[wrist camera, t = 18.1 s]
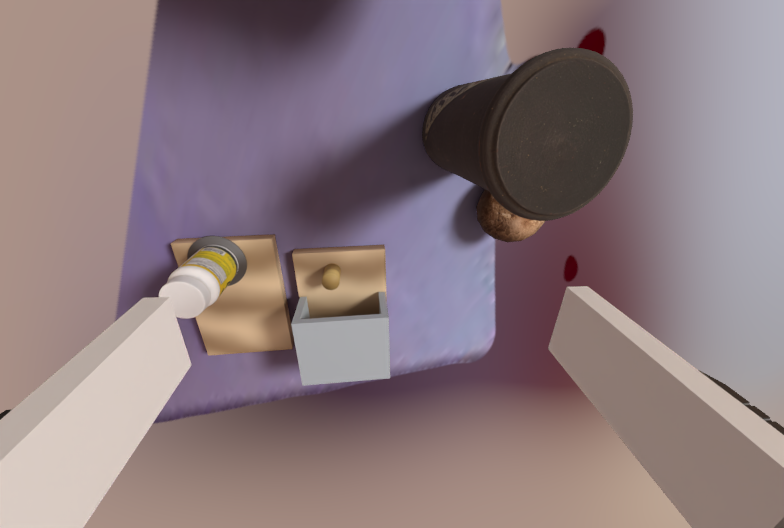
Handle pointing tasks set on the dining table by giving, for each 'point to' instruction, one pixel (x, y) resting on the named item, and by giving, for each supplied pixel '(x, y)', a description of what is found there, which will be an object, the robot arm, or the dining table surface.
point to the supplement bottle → (200, 280)
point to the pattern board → (341, 279)
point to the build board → (244, 297)
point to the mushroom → (503, 221)
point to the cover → (342, 345)
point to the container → (536, 132)
